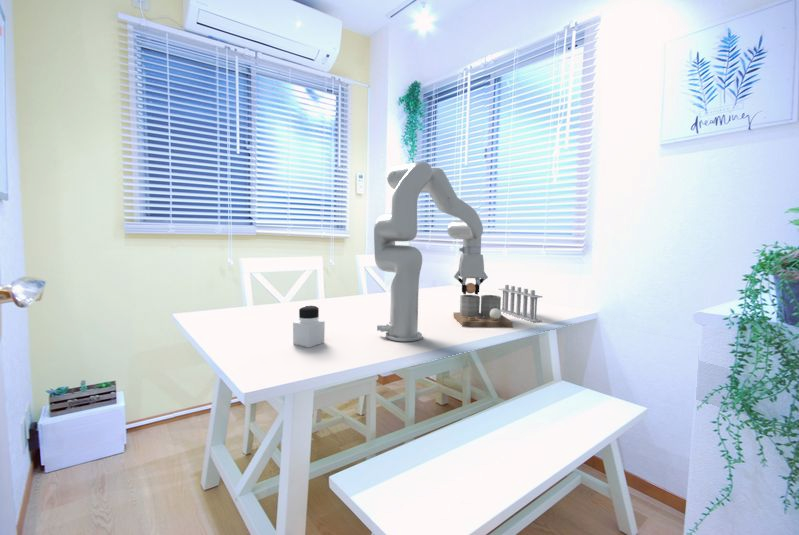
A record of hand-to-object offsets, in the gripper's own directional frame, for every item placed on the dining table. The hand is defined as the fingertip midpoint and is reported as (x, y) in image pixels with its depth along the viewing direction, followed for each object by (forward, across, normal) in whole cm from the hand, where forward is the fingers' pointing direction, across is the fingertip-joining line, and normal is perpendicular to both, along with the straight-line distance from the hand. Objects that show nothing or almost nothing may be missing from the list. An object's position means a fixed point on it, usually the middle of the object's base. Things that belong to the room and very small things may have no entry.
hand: (470, 293), depth 160 cm
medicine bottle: (+11, -61, -37) cm, 72 cm away
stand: (+11, +4, -5) cm, 13 cm away
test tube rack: (+12, +24, +7) cm, 27 cm away
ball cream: (+7, +8, -10) cm, 14 cm away
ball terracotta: (-2, 0, 0) cm, 2 cm away
